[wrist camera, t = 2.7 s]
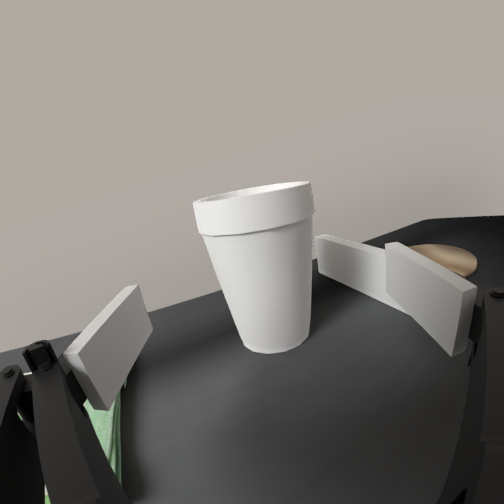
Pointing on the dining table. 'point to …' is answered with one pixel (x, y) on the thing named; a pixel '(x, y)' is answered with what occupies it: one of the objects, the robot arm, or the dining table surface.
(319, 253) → the low wall
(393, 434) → the dining table surface
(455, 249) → the cork coaster
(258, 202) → the foam cup
